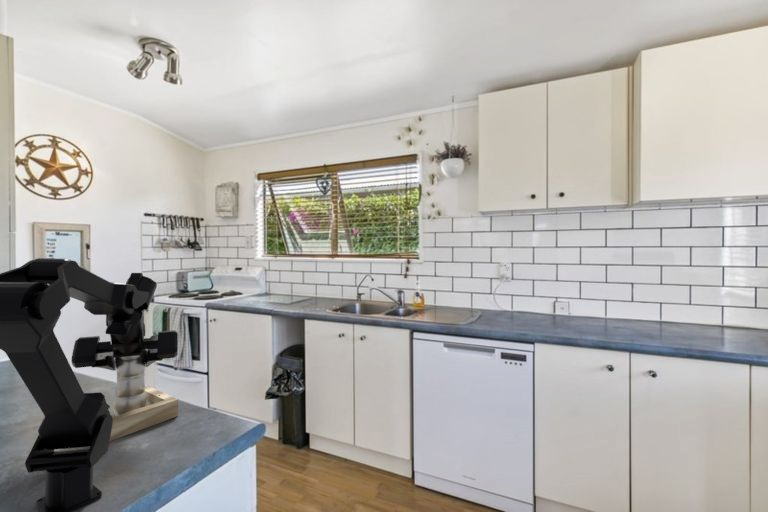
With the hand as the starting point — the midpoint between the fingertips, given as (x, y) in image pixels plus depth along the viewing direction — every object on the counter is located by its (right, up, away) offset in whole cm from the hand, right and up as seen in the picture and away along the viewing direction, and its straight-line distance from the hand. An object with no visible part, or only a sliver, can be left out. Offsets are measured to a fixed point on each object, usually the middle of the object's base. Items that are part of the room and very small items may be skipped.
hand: (131, 366), depth 85 cm
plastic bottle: (0, -11, -1) cm, 11 cm away
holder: (+1, -12, -1) cm, 12 cm away
